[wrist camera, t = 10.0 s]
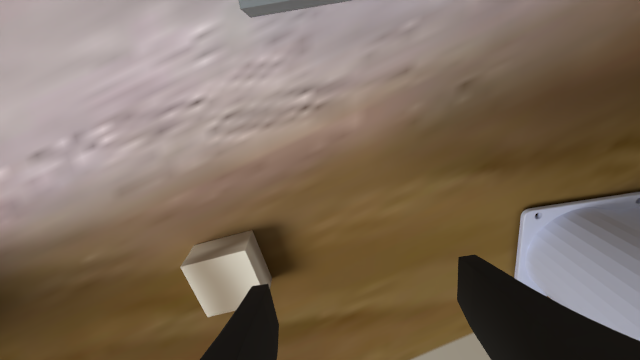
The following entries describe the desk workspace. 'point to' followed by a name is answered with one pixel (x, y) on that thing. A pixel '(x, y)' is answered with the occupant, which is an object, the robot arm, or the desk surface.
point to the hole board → (279, 5)
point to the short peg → (225, 271)
